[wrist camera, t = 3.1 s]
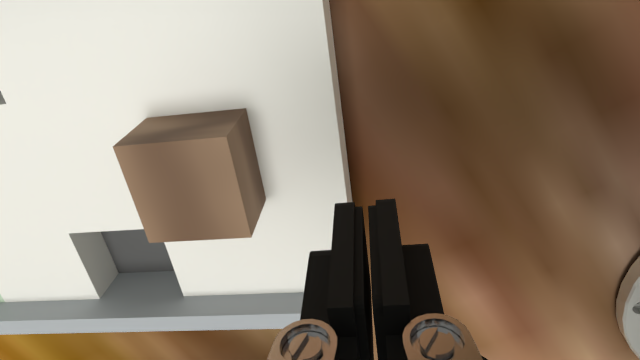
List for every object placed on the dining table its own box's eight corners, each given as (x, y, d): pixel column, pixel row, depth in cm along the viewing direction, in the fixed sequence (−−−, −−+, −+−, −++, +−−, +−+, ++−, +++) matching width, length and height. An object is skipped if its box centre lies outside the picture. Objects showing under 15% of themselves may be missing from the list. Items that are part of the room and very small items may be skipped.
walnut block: (246, 108, 19) (226, 136, 17) (266, 199, 21) (251, 237, 19) (146, 117, 20) (112, 146, 17) (175, 205, 22) (149, 242, 19)
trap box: (318, -89, 18) (305, -93, 14) (360, 273, 26) (359, 327, 23) (-242, 0, 22) (-360, 14, 18) (-49, 289, 30) (-104, 336, 27)
